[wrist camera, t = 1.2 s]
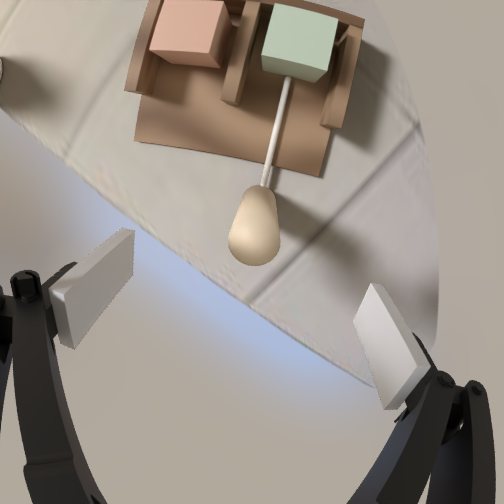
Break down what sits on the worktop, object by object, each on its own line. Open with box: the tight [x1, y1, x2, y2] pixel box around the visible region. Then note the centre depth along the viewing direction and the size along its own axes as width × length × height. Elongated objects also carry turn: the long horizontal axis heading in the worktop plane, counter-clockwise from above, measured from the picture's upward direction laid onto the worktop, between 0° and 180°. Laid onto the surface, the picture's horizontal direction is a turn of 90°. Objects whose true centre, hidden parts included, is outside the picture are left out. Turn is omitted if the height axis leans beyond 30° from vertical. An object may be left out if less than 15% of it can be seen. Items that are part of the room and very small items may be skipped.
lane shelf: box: [124, 0, 365, 177], centre depth 22 cm, size 16×19×5 cm
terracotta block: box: [149, 0, 232, 68], centre depth 19 cm, size 5×5×6 cm
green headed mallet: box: [228, 3, 338, 266], centre depth 21 cm, size 20×5×11 cm, turn 168°
